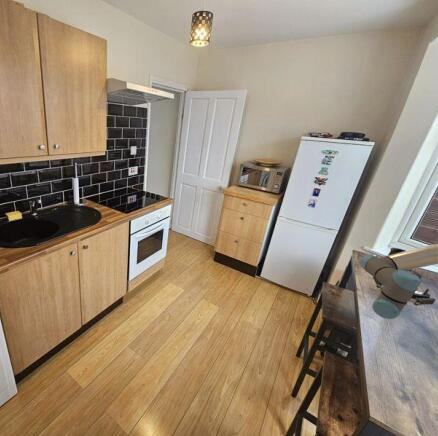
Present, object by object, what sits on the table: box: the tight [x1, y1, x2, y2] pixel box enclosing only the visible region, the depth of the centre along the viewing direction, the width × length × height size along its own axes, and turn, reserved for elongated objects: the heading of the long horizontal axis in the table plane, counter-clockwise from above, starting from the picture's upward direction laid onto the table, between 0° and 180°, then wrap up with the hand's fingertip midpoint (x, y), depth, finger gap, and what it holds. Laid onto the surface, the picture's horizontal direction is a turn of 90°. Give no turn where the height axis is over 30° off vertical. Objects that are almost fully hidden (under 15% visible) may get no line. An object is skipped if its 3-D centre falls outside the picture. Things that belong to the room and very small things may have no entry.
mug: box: [387, 247, 407, 256], centre depth 139 cm, size 11×15×12 cm
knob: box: [406, 269, 423, 279], centre depth 116 cm, size 6×6×10 cm
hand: (405, 282), depth 110 cm, fingers open, 13 cm apart
